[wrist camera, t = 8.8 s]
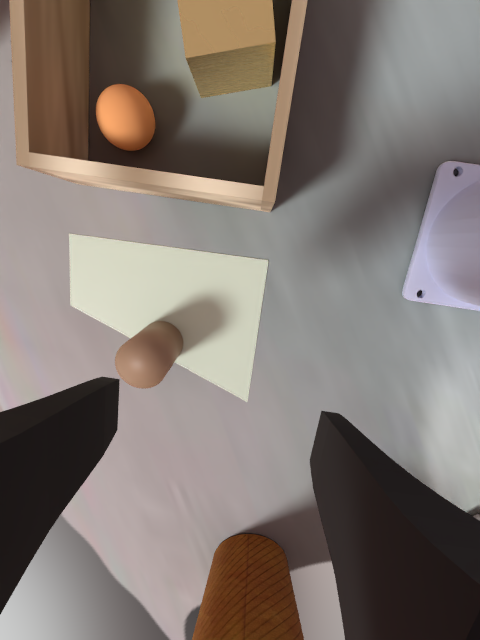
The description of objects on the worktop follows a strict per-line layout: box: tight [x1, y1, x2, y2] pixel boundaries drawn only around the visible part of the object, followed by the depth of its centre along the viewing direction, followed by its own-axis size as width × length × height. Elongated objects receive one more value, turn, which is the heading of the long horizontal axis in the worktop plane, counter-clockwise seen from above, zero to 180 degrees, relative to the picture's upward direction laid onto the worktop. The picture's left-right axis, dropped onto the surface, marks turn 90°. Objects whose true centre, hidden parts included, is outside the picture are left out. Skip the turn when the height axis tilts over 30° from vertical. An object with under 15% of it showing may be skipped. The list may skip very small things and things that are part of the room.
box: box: [9, 0, 308, 212], centre depth 15 cm, size 12×12×5 cm
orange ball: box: [96, 84, 155, 151], centre depth 16 cm, size 3×3×3 cm
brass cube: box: [178, 0, 276, 98], centre depth 15 cm, size 4×4×4 cm
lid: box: [69, 234, 269, 402], centre depth 20 cm, size 13×13×5 cm
